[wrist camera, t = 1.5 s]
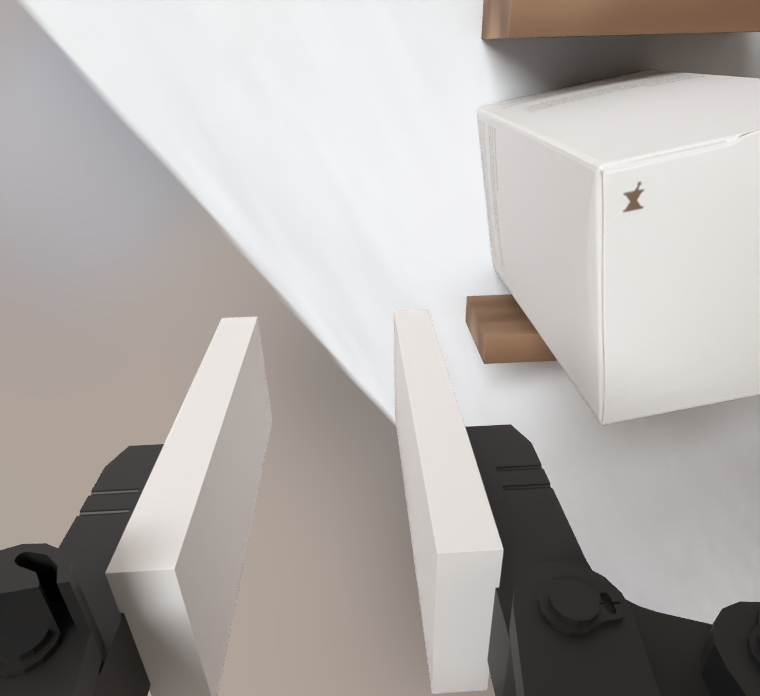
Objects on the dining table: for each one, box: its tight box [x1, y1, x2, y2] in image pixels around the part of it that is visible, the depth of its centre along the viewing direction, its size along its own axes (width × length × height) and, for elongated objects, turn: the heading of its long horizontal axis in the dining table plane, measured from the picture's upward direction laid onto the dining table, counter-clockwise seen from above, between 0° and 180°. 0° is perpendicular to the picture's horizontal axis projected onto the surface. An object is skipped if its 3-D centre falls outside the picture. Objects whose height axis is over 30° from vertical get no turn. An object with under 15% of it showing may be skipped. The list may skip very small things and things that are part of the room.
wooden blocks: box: [466, 0, 760, 364], centre depth 27 cm, size 16×12×5 cm
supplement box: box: [477, 70, 760, 426], centre depth 23 cm, size 9×9×15 cm
